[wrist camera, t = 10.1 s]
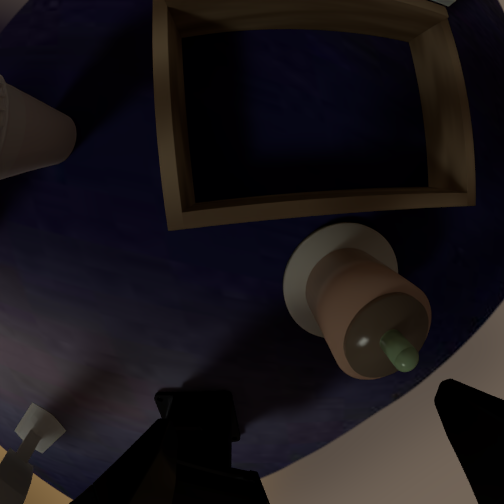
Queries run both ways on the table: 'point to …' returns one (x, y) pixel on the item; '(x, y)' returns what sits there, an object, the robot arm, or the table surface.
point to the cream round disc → (315, 250)
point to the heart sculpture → (27, 453)
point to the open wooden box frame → (316, 18)
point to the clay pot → (367, 314)
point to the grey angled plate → (445, 2)
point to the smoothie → (31, 133)
